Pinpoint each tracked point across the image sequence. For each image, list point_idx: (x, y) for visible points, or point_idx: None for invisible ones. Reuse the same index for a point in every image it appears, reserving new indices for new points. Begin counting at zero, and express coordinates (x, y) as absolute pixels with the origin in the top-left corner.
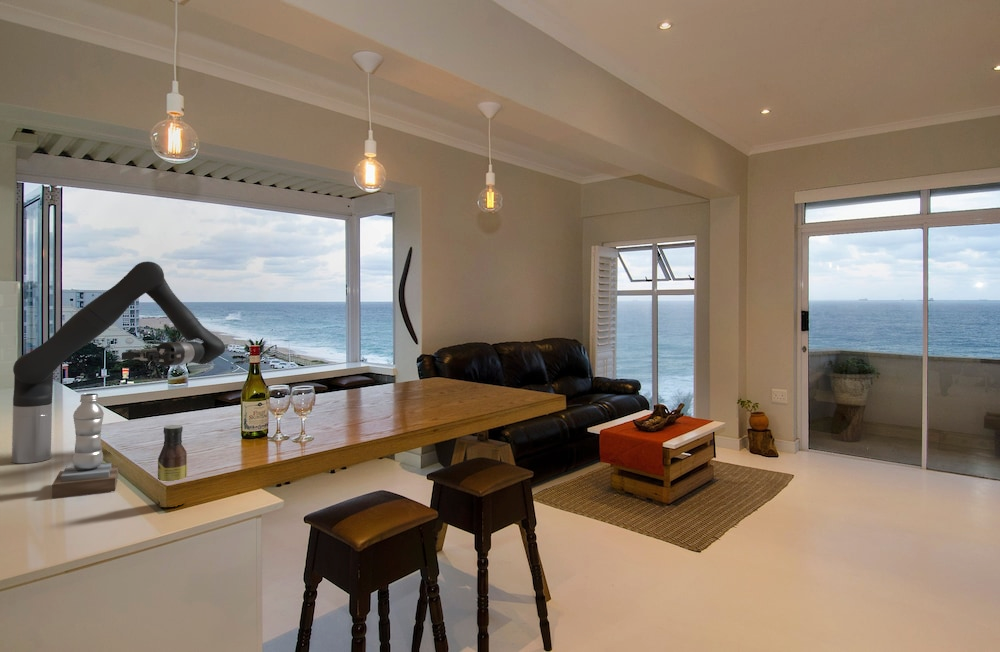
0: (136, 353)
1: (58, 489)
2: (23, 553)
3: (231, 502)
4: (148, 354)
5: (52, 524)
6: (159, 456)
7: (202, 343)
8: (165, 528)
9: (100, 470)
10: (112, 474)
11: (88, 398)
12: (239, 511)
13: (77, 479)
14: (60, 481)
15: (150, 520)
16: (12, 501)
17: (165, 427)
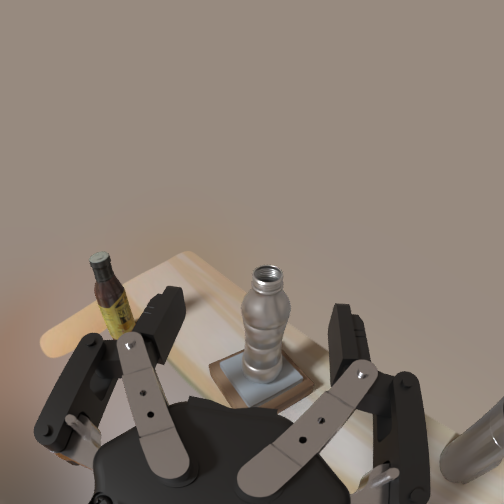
0: (389, 436)
1: None
2: (197, 263)
3: (73, 339)
4: (177, 287)
5: (212, 297)
6: (121, 284)
7: None
8: None
9: (236, 366)
10: (224, 379)
11: (259, 271)
12: (68, 319)
13: None
14: None
15: (134, 304)
16: (303, 337)
17: (106, 253)
